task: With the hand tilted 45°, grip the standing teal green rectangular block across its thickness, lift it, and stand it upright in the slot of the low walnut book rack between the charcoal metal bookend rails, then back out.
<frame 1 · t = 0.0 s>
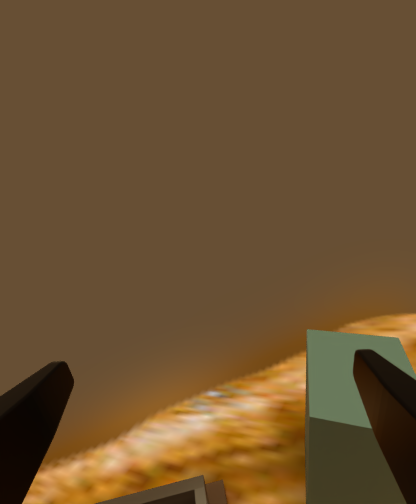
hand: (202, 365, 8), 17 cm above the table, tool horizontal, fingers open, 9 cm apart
teal green rectangular block: (345, 493, 18), on the table
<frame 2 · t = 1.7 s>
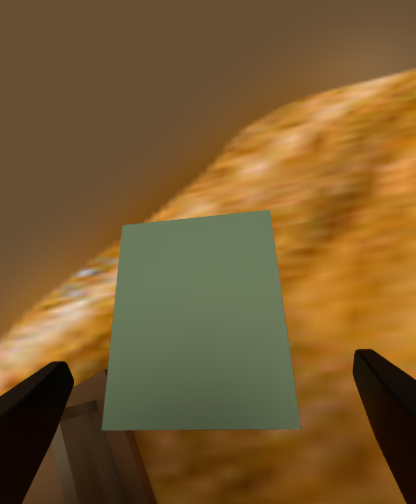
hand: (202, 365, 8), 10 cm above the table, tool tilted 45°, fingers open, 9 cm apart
teal green rectangular block: (226, 338, 18), on the table
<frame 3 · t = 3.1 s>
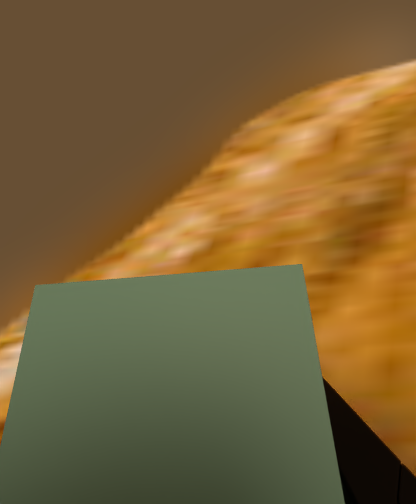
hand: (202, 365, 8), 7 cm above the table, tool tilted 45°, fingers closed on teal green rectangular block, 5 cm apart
teal green rectangular block: (224, 392, 14), on the table, touching gripper
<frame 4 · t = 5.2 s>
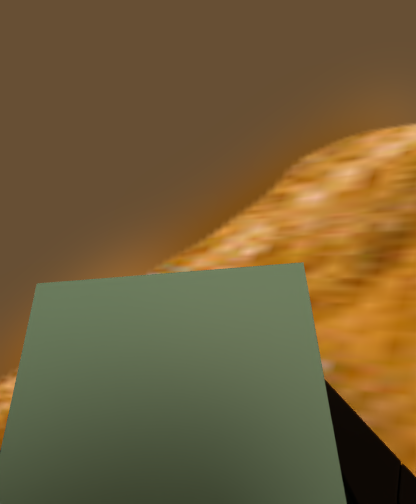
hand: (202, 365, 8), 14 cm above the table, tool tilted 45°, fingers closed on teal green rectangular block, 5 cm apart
teal green rectangular block: (224, 391, 14), point 7 cm above the table, touching gripper
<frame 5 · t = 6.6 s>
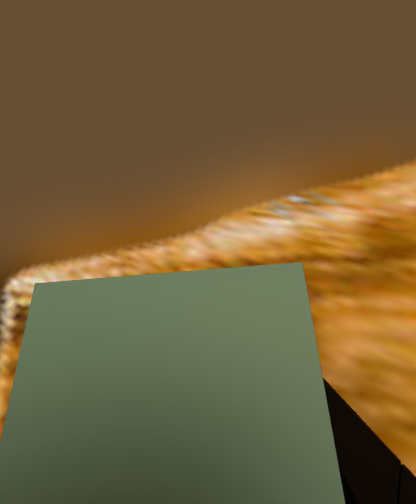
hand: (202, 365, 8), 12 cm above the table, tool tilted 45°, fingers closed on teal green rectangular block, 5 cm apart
teal green rectangular block: (224, 391, 14), point 5 cm above the table, touching gripper
when the fingers open (8 cm above the table, at t = 7.7 s): teal green rectangular block drops 1 cm, resting on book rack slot.
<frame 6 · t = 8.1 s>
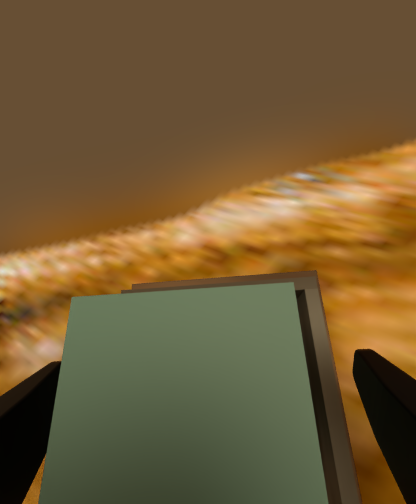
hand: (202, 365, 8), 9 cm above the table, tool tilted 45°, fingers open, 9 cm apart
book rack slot: (227, 388, 16), on the table
teal green rectangular block: (226, 389, 15), point 1 cm above the table, touching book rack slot
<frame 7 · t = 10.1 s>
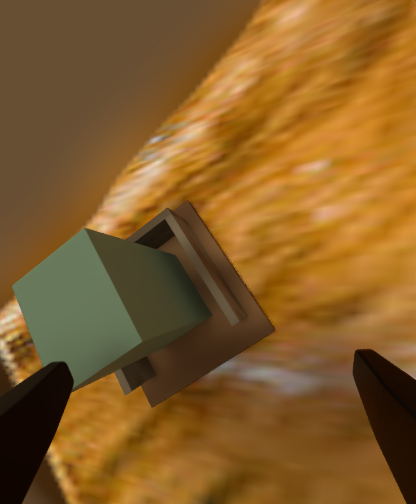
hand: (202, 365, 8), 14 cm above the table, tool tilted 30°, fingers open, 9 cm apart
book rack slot: (173, 299, 23), on the table
teal green rectangular block: (170, 300, 23), point 1 cm above the table, touching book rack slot
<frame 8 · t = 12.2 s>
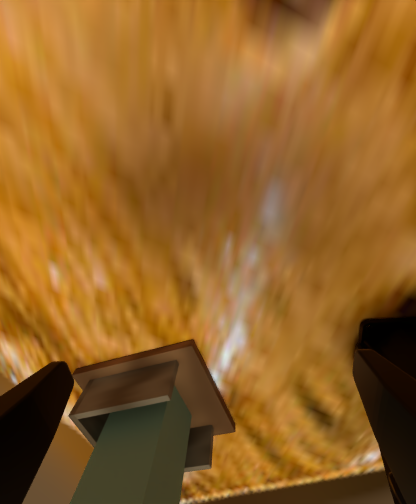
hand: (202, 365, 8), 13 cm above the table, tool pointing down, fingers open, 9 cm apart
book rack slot: (157, 397, 28), on the table
teal green rectangular block: (155, 404, 27), point 1 cm above the table, touching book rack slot
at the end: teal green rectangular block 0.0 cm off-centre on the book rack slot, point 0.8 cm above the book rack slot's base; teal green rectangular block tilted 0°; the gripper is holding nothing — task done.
